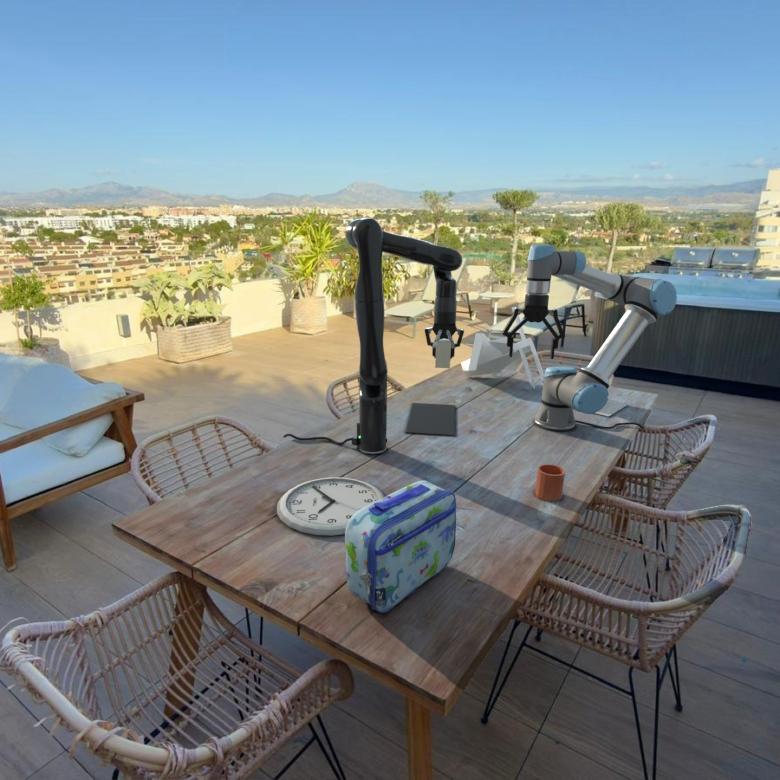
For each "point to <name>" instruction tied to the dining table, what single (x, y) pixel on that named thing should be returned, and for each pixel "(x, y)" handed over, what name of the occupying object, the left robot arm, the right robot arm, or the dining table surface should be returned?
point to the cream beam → (443, 353)
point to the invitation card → (610, 408)
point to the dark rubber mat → (432, 419)
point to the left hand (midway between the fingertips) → (443, 357)
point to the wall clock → (325, 504)
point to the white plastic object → (499, 355)
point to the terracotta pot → (550, 482)
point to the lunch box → (399, 543)
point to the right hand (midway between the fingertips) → (530, 357)
